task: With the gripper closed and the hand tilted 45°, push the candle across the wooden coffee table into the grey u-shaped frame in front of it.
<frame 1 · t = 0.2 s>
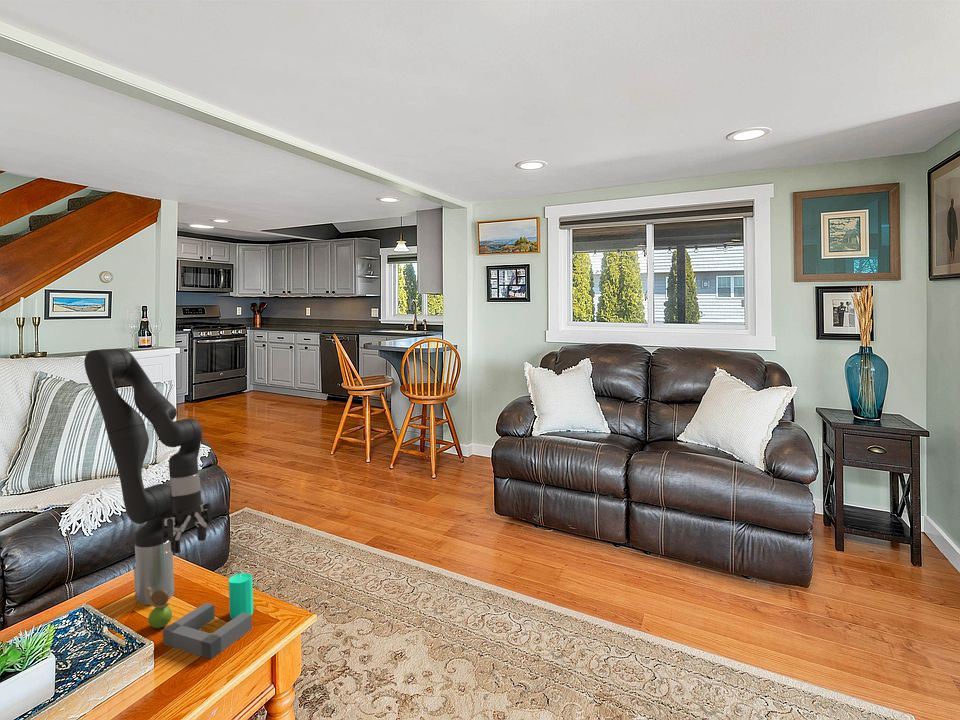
hand: (189, 546, 146), 18 cm above the table, tool pointing down, fingers open, 8 cm apart
snail figurine: (158, 626, 138), on the table
grey u-shaped frame: (213, 633, 135), on the table
candle: (241, 614, 144), on the table
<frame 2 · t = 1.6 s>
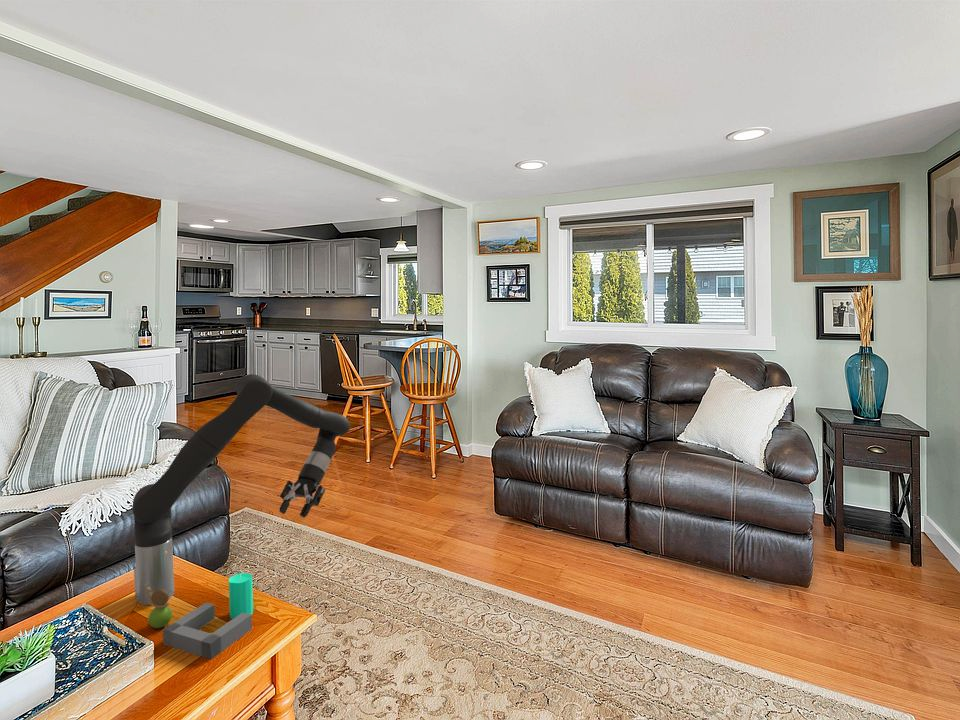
hand: (291, 514, 161), 21 cm above the table, tool tilted 45°, fingers open, 7 cm apart
nothing on the table moved.
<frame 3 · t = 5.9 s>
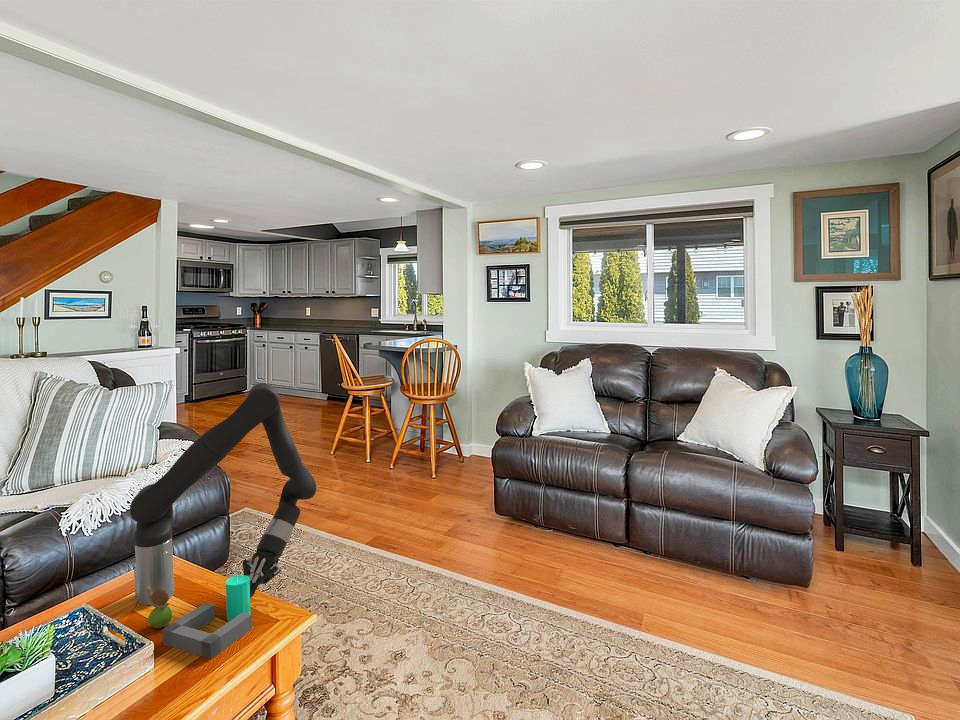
hand: (246, 597, 145), 4 cm above the table, tool tilted 45°, fingers closed
candle: (238, 616, 143), on the table, touching gripper
everything else where it was.
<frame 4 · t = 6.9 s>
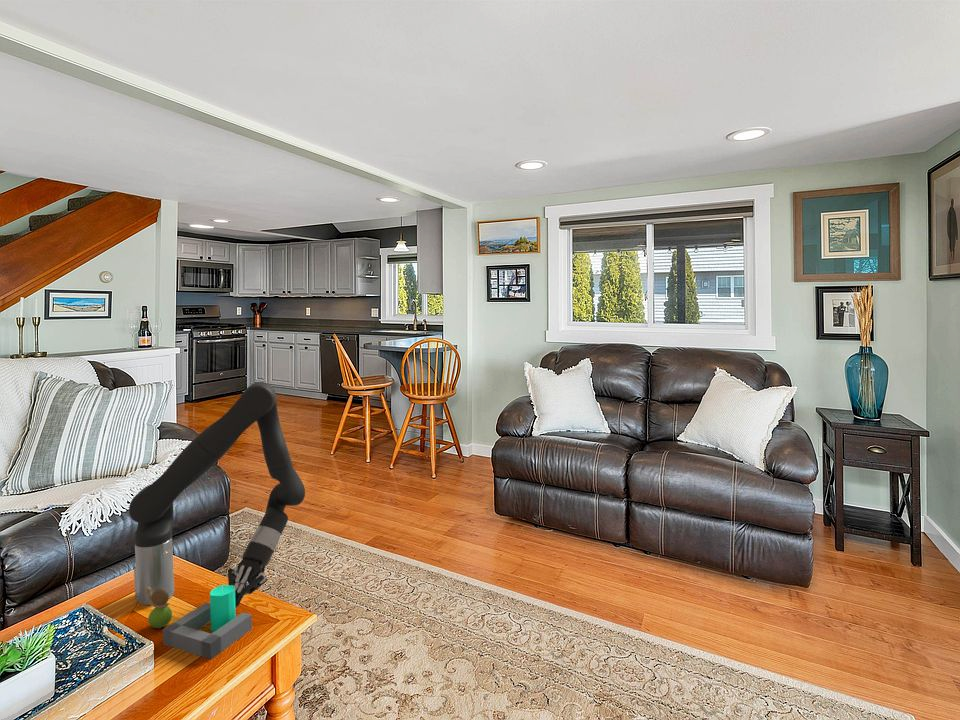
hand: (231, 607, 140), 4 cm above the table, tool tilted 45°, fingers closed
candle: (223, 628, 137), on the table, touching gripper
everything else where it was.
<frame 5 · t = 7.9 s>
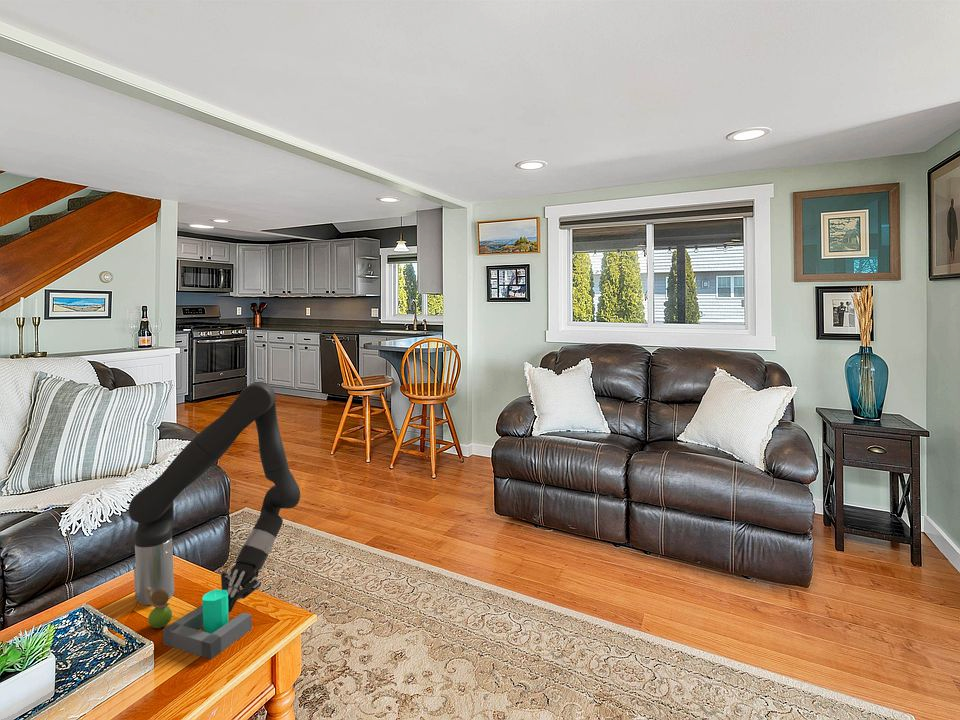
hand: (224, 612, 138), 4 cm above the table, tool tilted 45°, fingers closed
candle: (216, 633, 135), on the table, touching gripper
everything else where it was.
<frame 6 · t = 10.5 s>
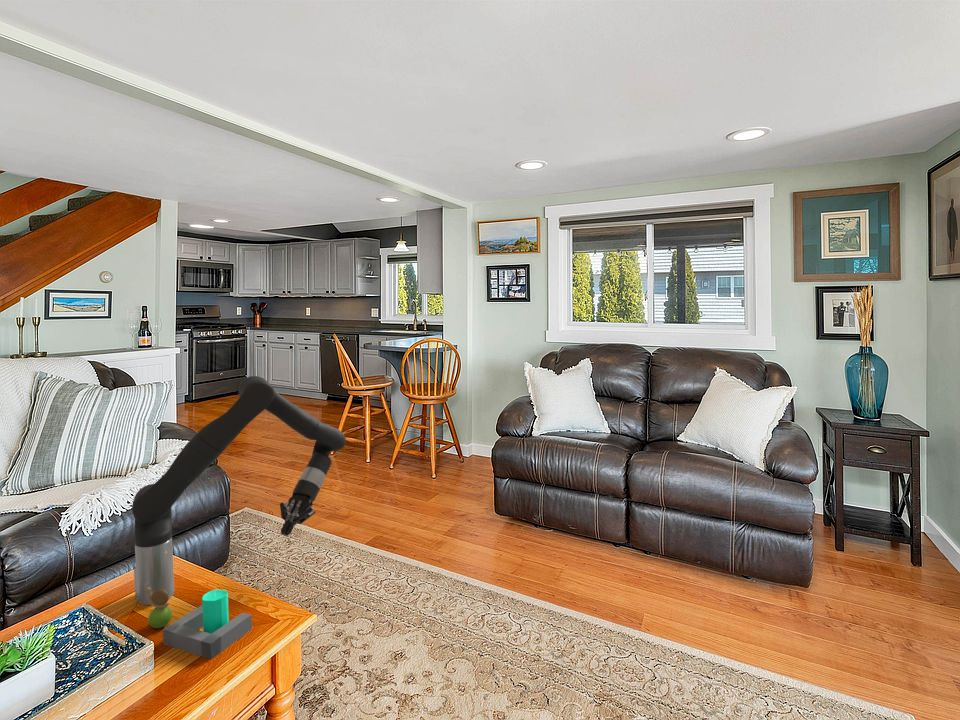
hand: (284, 534, 159), 16 cm above the table, tool tilted 45°, fingers closed
candle: (216, 633, 135), on the table
everything else where it was.
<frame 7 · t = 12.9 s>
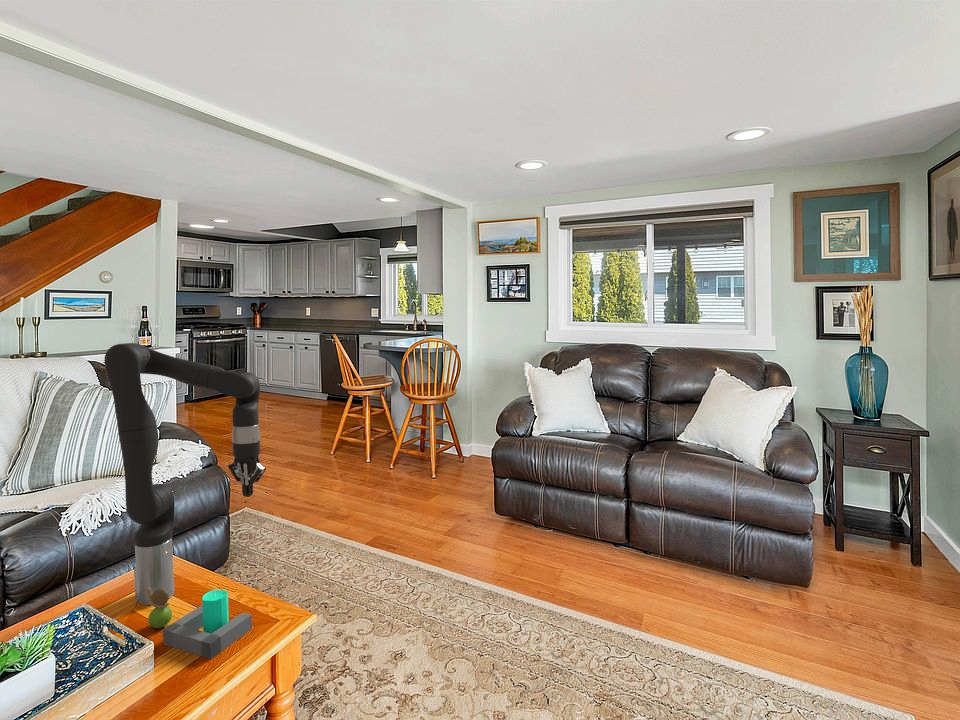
hand: (247, 495, 155), 29 cm above the table, tool pointing down, fingers closed
nothing on the table moved.
at the end: candle 1.1 cm from the target spot, on the table; candle tilted 0°; snail figurine moved 0.2 cm from its start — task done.
